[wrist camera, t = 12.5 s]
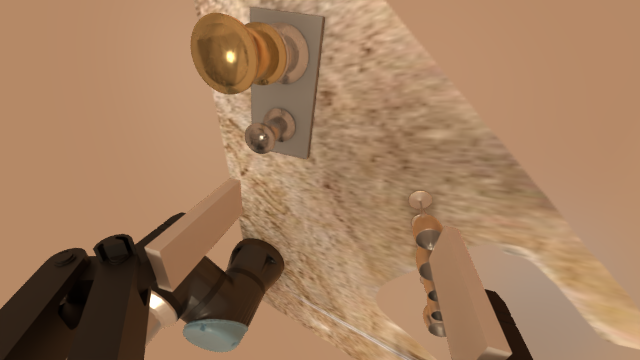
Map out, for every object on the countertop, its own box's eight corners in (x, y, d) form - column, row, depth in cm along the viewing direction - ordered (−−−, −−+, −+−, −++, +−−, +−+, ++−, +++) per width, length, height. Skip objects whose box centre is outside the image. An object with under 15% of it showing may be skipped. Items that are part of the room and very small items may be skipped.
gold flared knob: (285, 88, 34) (256, 99, 26) (237, 80, 35) (196, 88, 27) (288, 26, 30) (255, 17, 22) (234, 19, 31) (185, 8, 23)
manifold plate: (308, 156, 49) (306, 159, 47) (255, 144, 50) (251, 147, 49) (324, 17, 37) (322, 16, 36) (254, 8, 38) (249, 6, 37)
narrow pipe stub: (294, 143, 46) (277, 161, 39) (264, 137, 47) (241, 153, 40) (297, 111, 43) (278, 123, 36) (265, 104, 44) (239, 115, 36)
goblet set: (403, 191, 48) (409, 235, 36) (434, 188, 46) (451, 232, 34) (418, 287, 59) (427, 343, 47) (444, 287, 57) (459, 346, 45)
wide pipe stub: (306, 87, 41) (290, 94, 34) (258, 79, 42) (234, 84, 35) (312, 26, 36) (295, 20, 30) (258, 19, 38) (230, 11, 31)
